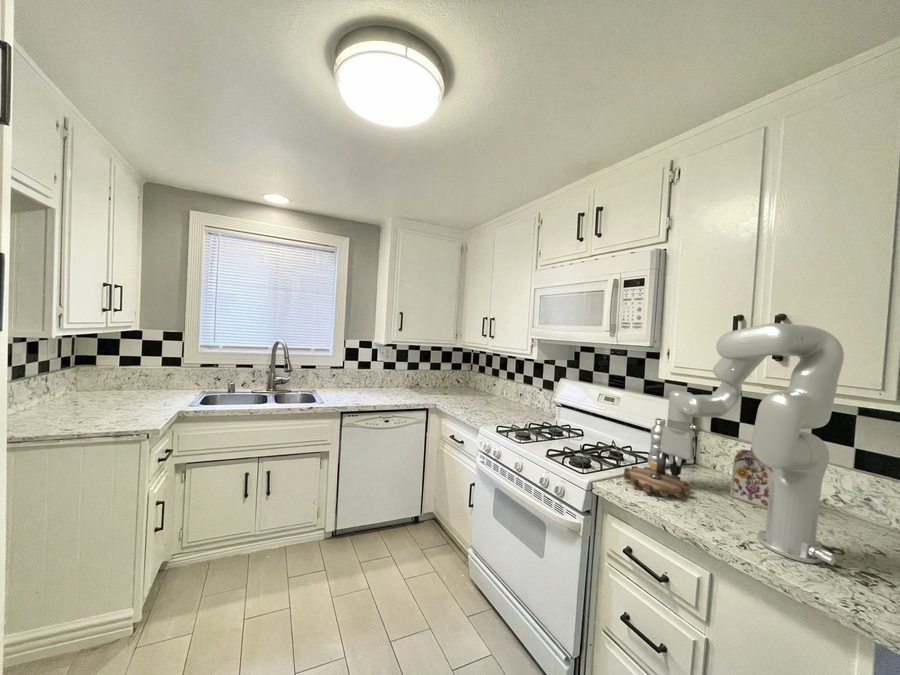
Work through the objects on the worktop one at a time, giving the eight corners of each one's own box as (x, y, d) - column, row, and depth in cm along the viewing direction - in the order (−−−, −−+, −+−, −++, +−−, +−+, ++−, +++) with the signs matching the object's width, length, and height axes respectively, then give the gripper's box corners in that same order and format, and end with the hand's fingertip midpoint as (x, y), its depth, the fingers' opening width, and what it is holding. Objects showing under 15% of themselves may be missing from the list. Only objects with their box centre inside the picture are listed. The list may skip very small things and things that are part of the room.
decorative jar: (772, 512, 115) (778, 457, 114) (728, 496, 124) (733, 446, 124) (782, 503, 122) (787, 452, 121) (739, 489, 131) (744, 441, 131)
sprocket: (681, 503, 114) (684, 472, 113) (615, 480, 128) (617, 453, 128) (694, 485, 128) (697, 458, 128) (634, 466, 143) (636, 442, 142)
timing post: (655, 476, 138) (656, 464, 138) (649, 475, 139) (650, 462, 139) (655, 474, 140) (656, 462, 140) (649, 473, 141) (650, 461, 140)
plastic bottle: (644, 462, 153) (648, 416, 152) (661, 464, 152) (665, 418, 151) (650, 468, 147) (655, 420, 146) (668, 470, 146) (672, 422, 145)
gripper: (706, 429, 125) (702, 480, 126) (660, 419, 137) (657, 466, 137) (700, 432, 121) (695, 485, 121) (652, 421, 132) (649, 469, 133)
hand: (675, 474), depth 129 cm, fingers closed
